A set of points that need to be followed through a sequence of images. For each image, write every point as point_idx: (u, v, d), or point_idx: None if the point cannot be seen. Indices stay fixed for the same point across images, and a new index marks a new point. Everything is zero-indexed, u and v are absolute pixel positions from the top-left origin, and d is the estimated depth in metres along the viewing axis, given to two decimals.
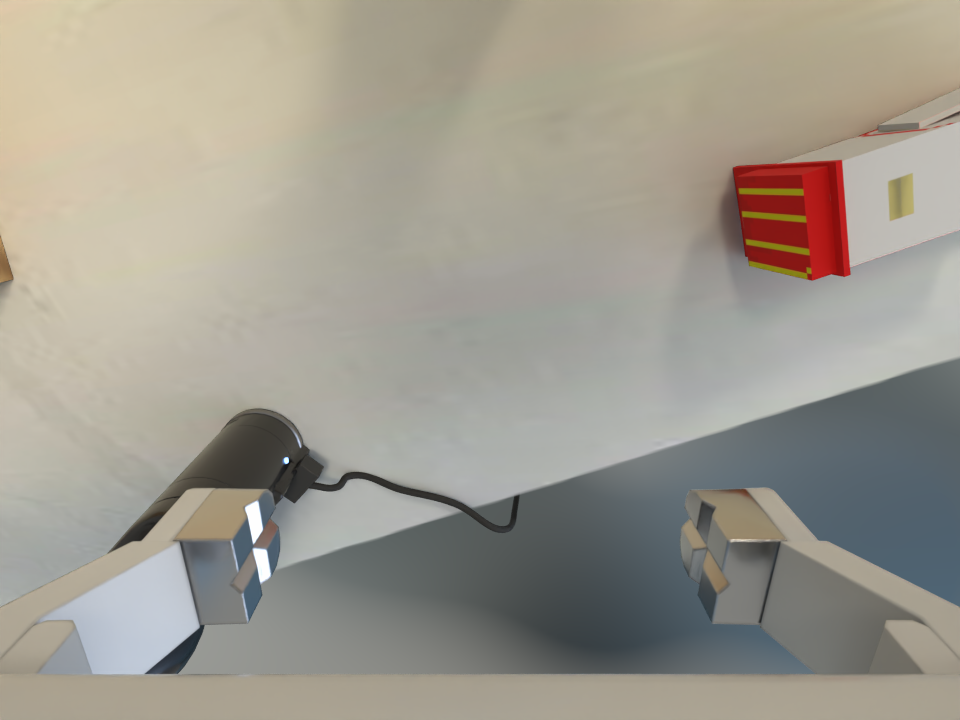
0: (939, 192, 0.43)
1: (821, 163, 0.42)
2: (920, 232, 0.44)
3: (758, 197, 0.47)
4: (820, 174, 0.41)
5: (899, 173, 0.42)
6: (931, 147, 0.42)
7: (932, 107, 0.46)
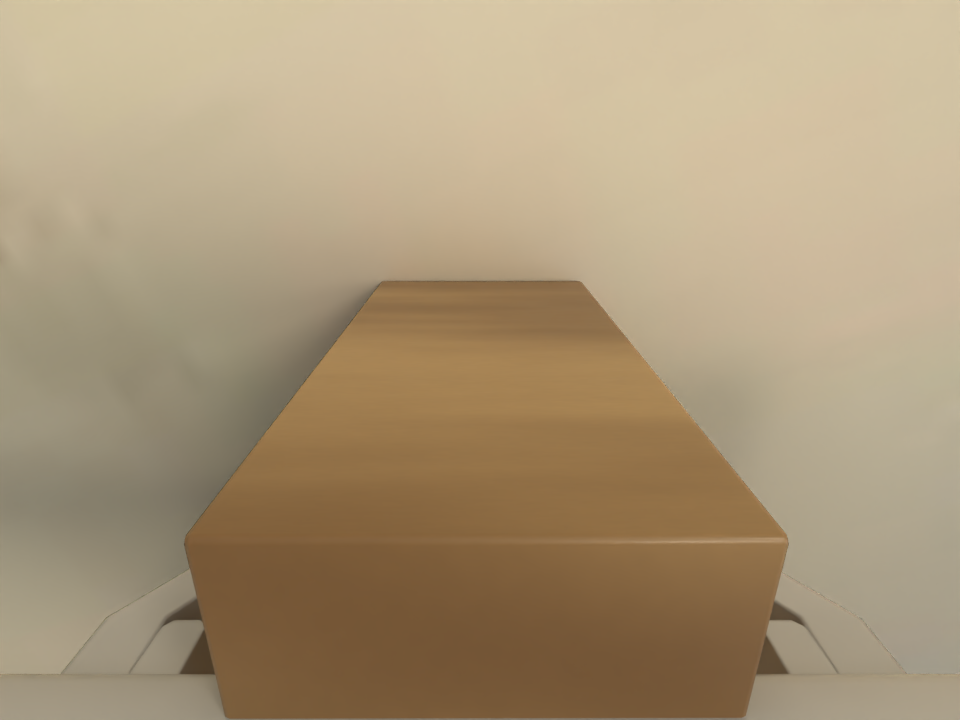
0: None
1: None
2: None
3: None
4: None
5: None
6: None
7: None
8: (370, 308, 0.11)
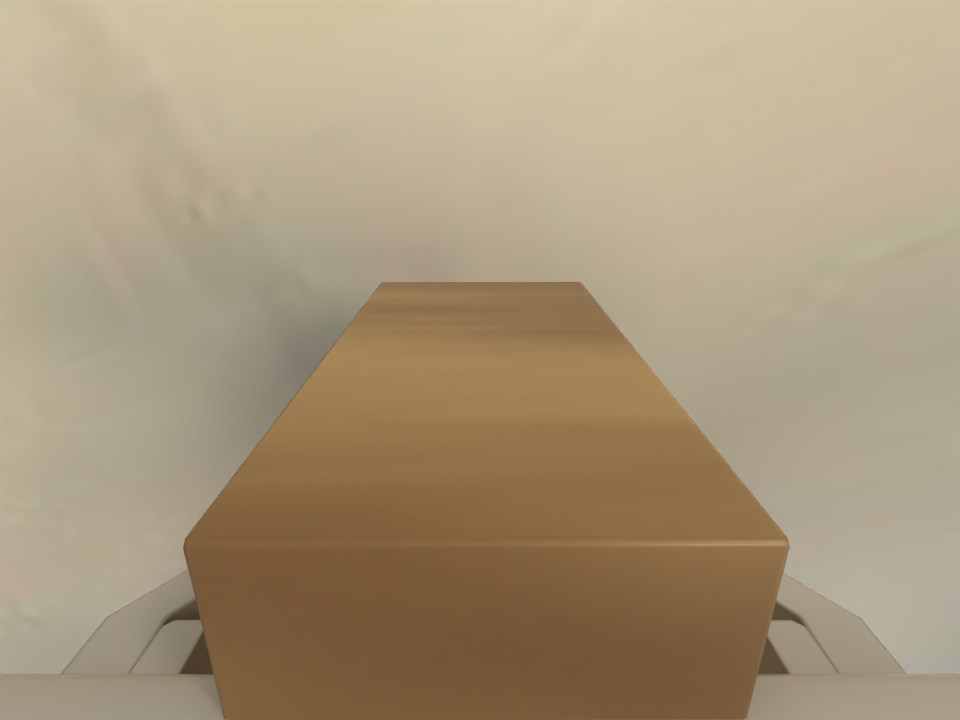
0: None
1: None
2: None
3: None
4: None
5: None
6: None
7: None
8: (370, 309, 0.11)
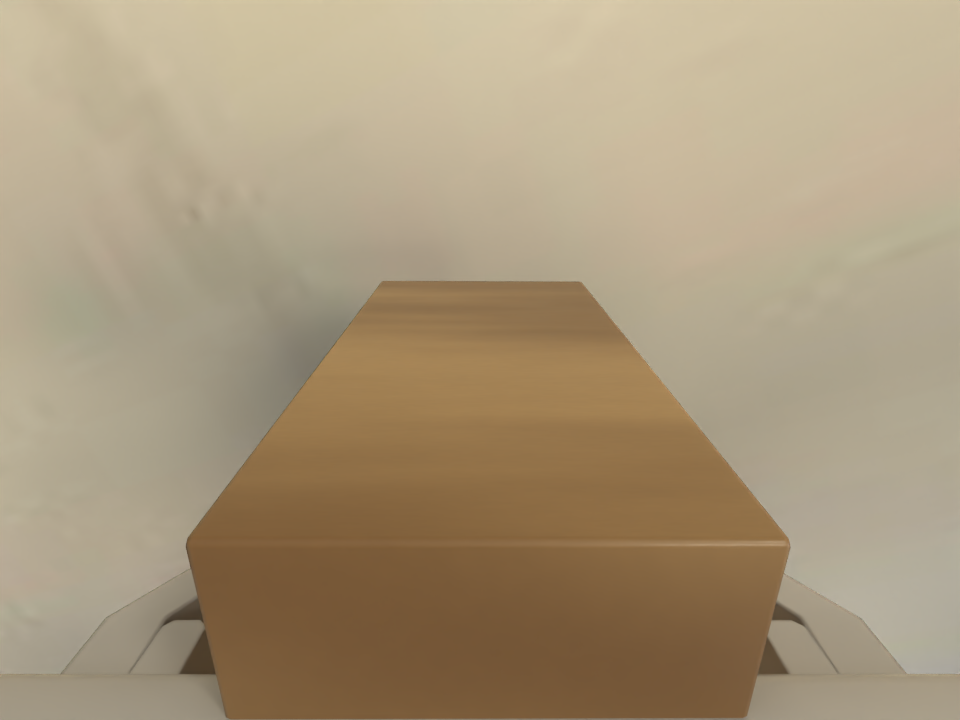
0: None
1: None
2: None
3: None
4: None
5: None
6: None
7: None
8: (370, 308, 0.11)
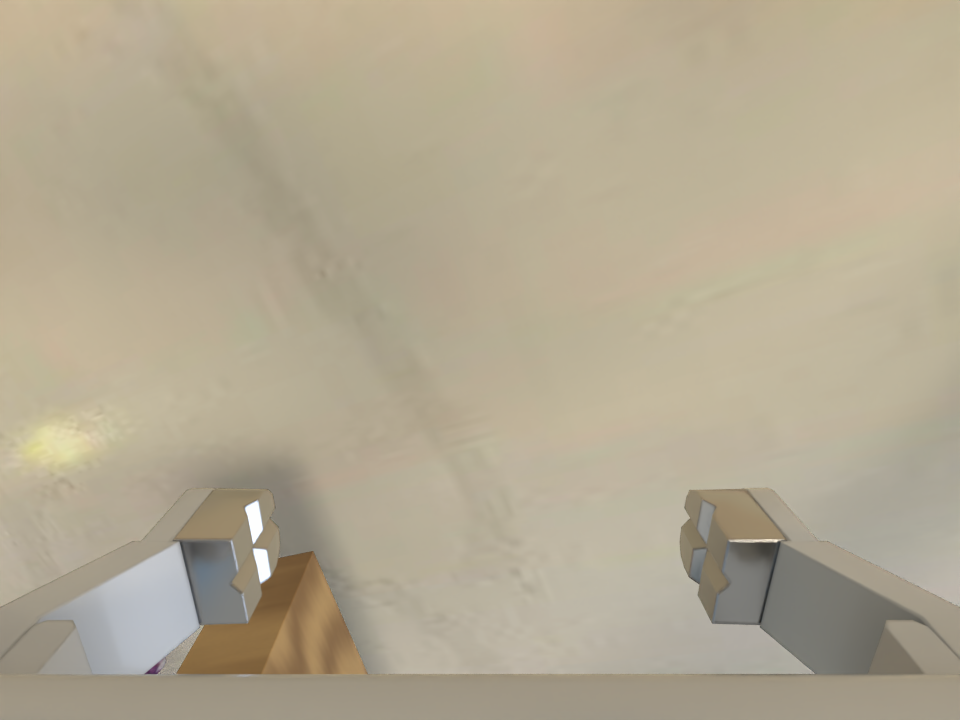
0: None
1: None
2: None
3: None
4: None
5: None
6: None
7: None
8: None
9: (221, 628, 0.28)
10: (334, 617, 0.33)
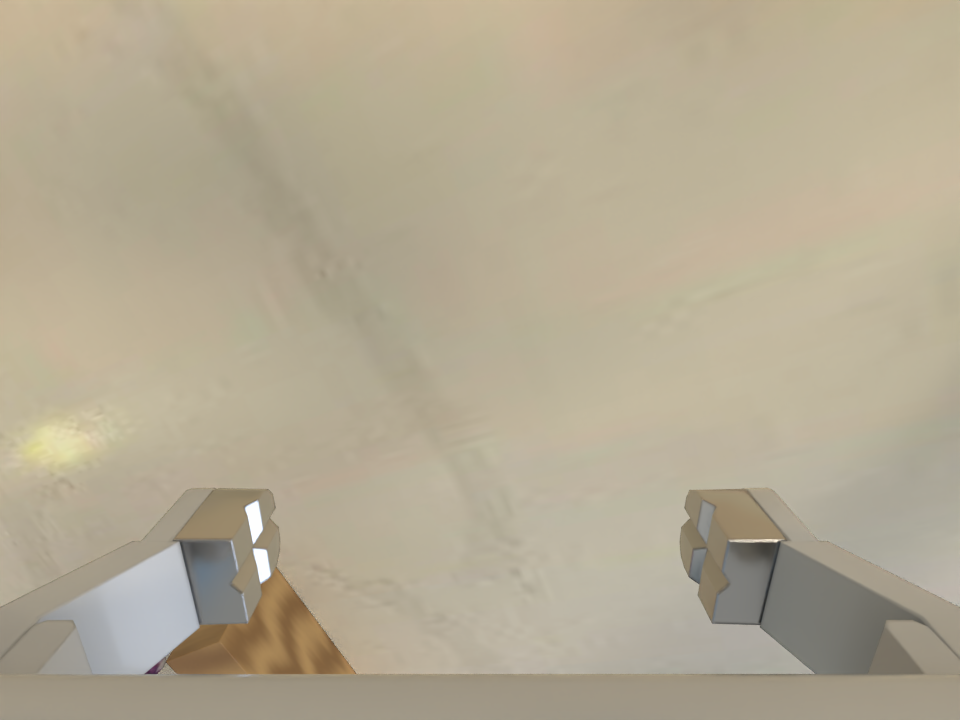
0: None
1: None
2: None
3: None
4: None
5: None
6: None
7: None
8: None
9: None
10: (289, 596, 0.49)
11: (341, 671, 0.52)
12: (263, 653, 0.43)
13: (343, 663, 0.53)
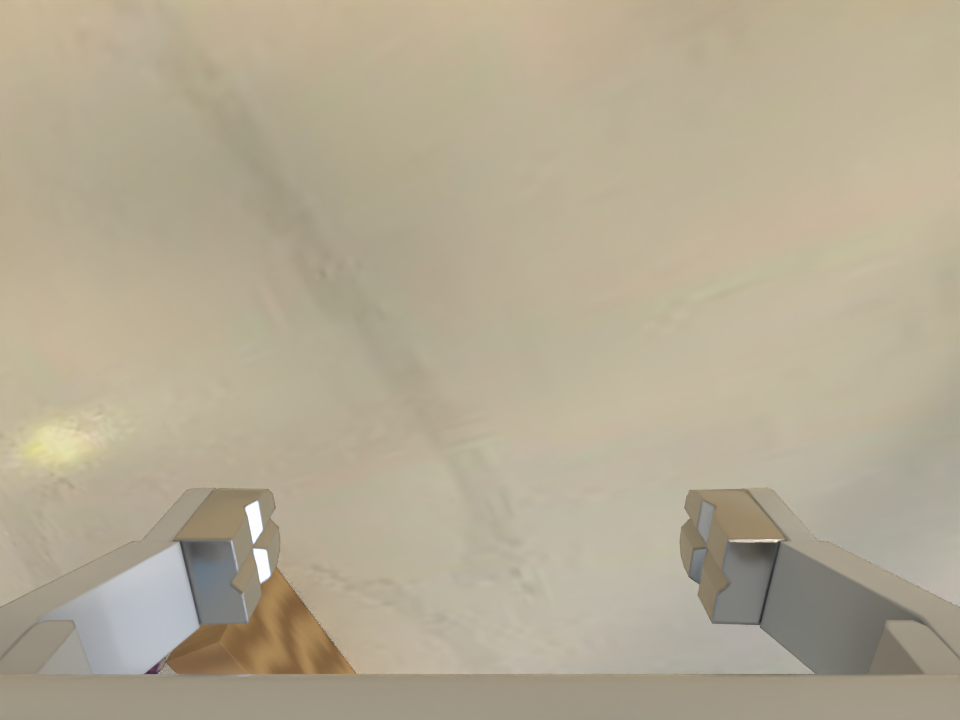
0: None
1: None
2: None
3: None
4: None
5: None
6: None
7: None
8: None
9: None
10: (289, 596, 0.49)
11: (341, 671, 0.52)
12: (263, 653, 0.43)
13: (343, 663, 0.53)
